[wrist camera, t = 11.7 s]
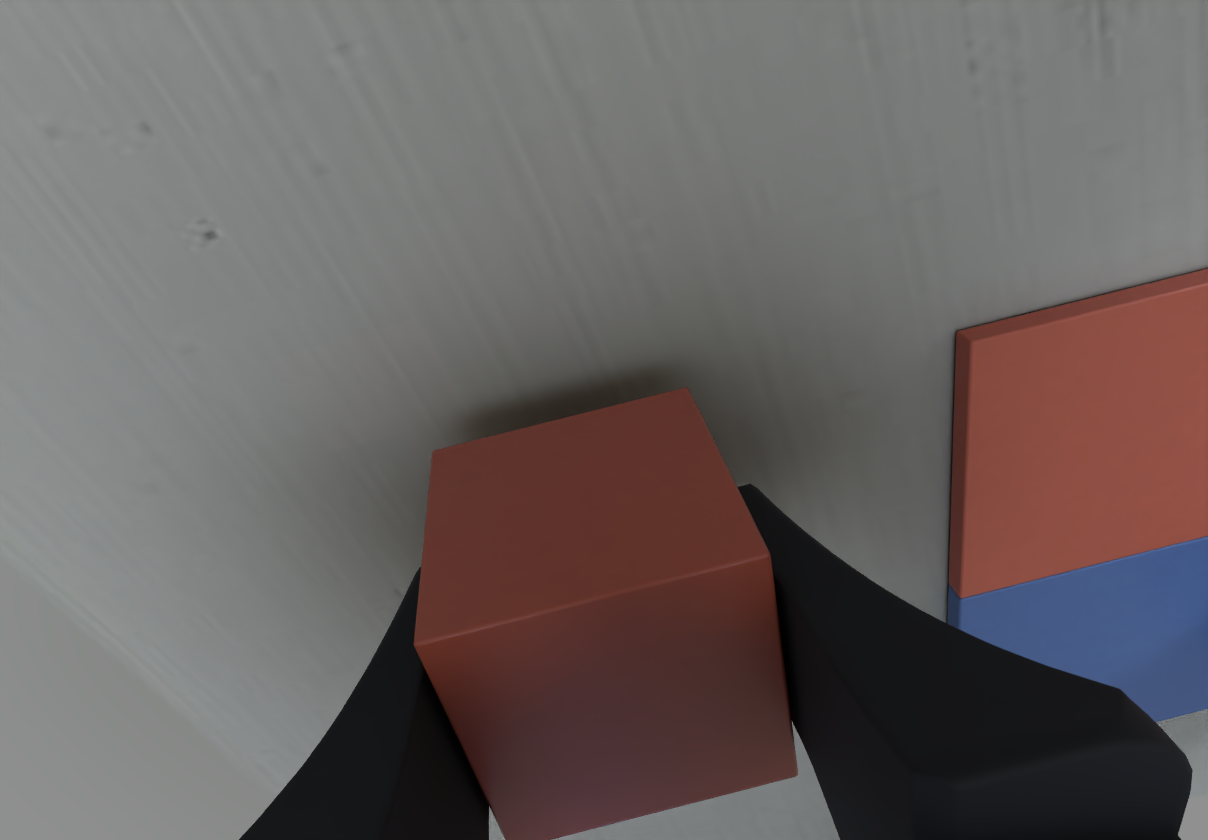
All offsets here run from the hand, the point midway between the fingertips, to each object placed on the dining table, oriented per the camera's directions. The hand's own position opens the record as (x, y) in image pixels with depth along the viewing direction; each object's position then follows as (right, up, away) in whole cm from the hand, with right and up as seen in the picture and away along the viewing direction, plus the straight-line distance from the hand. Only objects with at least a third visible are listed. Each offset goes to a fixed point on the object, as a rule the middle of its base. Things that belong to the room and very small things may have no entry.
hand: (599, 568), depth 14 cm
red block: (0, +1, +1) cm, 1 cm away
